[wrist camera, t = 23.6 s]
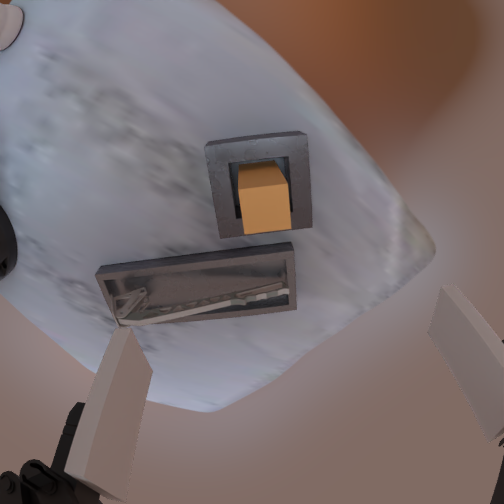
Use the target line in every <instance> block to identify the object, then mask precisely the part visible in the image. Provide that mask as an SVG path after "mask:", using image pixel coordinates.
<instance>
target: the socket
mask: <svg viewBox="0 0 504 504" xmlns="http://www.w3.org/2000/svg"><path fill="white" fill-rule="evenodd" d="M204 148H205V154H206V160H207V166H208V172H209V178H210V184H211V189H212V195H213V201H214V206H215V212H216V218H217V223H218V229H219V234H220V239H222V238H230V237H238V236H246V235H254V234H262V233H270V232H278V231H286V230H295V229H303V228H312V203H311V185H310V169H309V155H308V142H307V135H306V134H304V133H302V132H300V131H293V132H281V133H271V134H261V135H253V136H244V137H237V138H230V139H223V140H216V141H210V142H208V143H207V144H206V145H205V147H204ZM274 157H284V164H285V175H286V181H287V183H288V192H289V204H290V217H291V229H285V230H277V231H269V232H261V233H253V234H244V227H243V220H242V213H241V206H236V199H235V193H234V186H233V179H232V172H231V165H230V163H233V162H240V161H248V160H256V159H265V158H274Z"/></svg>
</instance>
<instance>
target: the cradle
mask: <svg viewBox="0 0 504 504" xmlns="http://www.w3.org/2000/svg"><path fill="white" fill-rule="evenodd" d="M95 277H96V279H97V281H98V284H99V286H100V289H101V291H102V293H103V295H104V298H105V300H106V302H107V304H108V307H109V309H110V311H111V313H112V308H111V296H110V294H112V296H113V297H116V296H120V295H123V294H126V293H129V292H131V291H133V290H137V289H140V288H143V287H145V288H146V291H147V294H146V295H145V296H144V297H146V296H149V300H150V303H149V304H148V306H147V307H146V308H145V309H144V310H151V309H156V308H161V307H166V306H171V305H176V304H181V303H186V302H190V301H195V300H200V299H204V298H209V297H214V296H218V295H223V294H227V293H232V292H236V291H241V290H245V289H249V288H254V287H258V286H262V285H267V284H271V283H275V282H279V281H283V282H284V283H286V284H287V285H288V286H289V294H282V295H279V296H274V297H270V298H268V299H260V300H257V301H250V302H247V303H246V305H230V306H226V307H222V308H218V309H214V310H210V311H205V312H201V313H197V314H193V315H188V316H184V317H179V318H175V319H171V320H166V321H161V322H157V323H152V324H161V323H175V322H188V321H200V320H211V319H221V318H231V317H241V316H250V315H258V314H267V313H275V312H282V311H290V310H297V304H296V282H295V264H294V250H293V247H292V244H291V242H286V243H278V244H270V245H262V246H254V247H246V248H238V249H230V250H222V251H214V252H206V253H198V254H190V255H182V256H174V257H167V258H159V259H151V260H143V261H136V262H128V263H120V264H113V265H105V266H101V267H100V268H99V269H98V271H97V272H96V274H95ZM278 289H280V288H278ZM275 290H277V289H275ZM141 292H145V291H144V289H143V290H141ZM141 292H140V293H141ZM267 292H268V291H267ZM129 295H132V294H129ZM141 296H142V295H139V296H138V298H137V299H139V298H140V297H141ZM129 299H130V298H127V299H120V300H116V305H117V306H120V305H123V304H126V303H127V302H128V300H129ZM137 299H136V300H137ZM145 301H148V300H147V299H144V302H145ZM133 304H134V303H133ZM144 306H145V304H143V305H142V306H141V307H140V309H139V310H141V309H142V308H143V307H144ZM129 309H130V308H129ZM139 310H138V311H139ZM130 312H131V311H130ZM112 315H113V314H112ZM116 324H117V323H116Z"/></svg>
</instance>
